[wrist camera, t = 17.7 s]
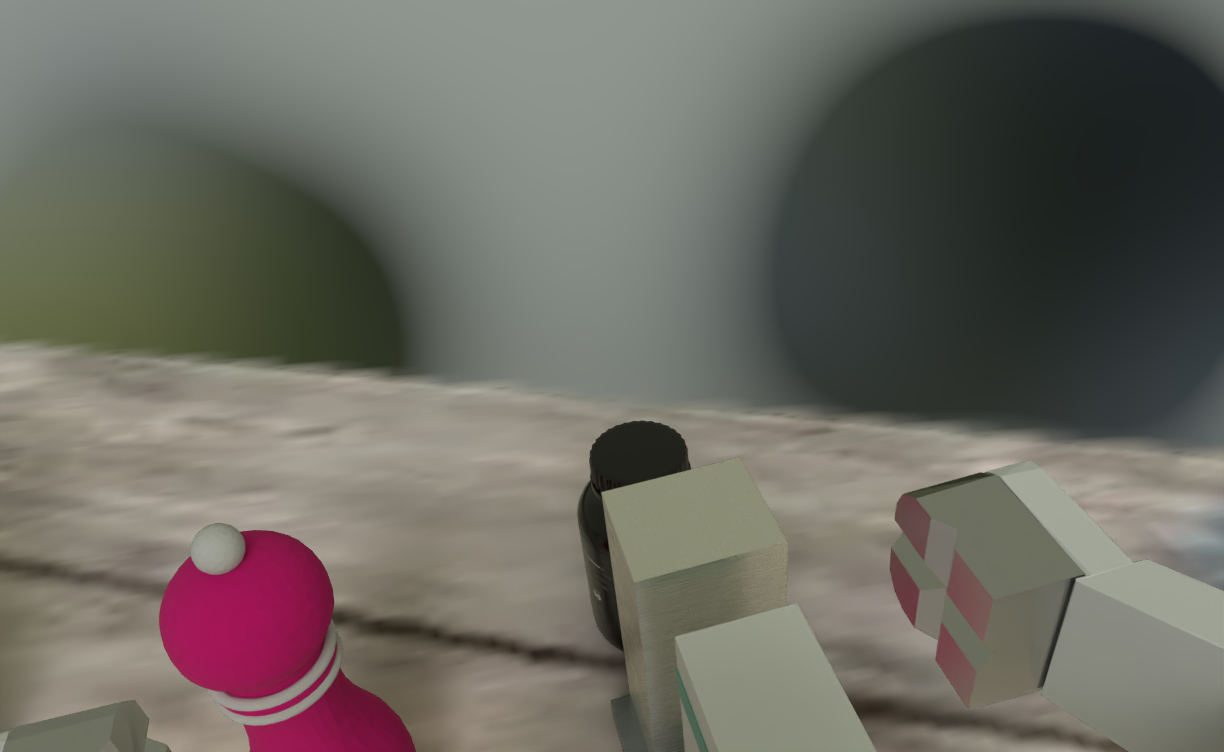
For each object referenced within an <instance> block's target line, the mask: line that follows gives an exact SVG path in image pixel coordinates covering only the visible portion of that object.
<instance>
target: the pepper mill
mask: <svg viewBox="0 0 1224 752" xmlns="http://www.w3.org/2000/svg"><path fill="white" fill-rule="evenodd" d="M190 554H191V556H190V557H189V558H188V559H187V560H186V561H185V562H184V563H183V564H182V565H181V566H180V568H179V569H178V571H177V572H176V574H175V575H174V576H173V578H172V579H171V581H170V582H169V584H168V586H167V589H166V591H165V593H164V596H163V599H162V603H161V608H160V614H159V626H160V632H161V637H162V641H163V645H164V648H165V650H166V652H167V654H168V656H169V658H170V660H171V662H172V663H173V664H174V665H175V666H176V668H177V669H178V670H179V671H180V672H181V674H182V675H183V676H184V677H186V678H187V679H188V680H190V681H191V682H193V683H195V684H196V685H199V686H201V687H204V688H206V689H207V690H208V692H209V694H210V695H211V697H212V698H213V699H214V701H215V704H216V706H217V707H218V709H219V710H220V712H221V713H222V714H223V715H224V716H226V717H227V718H229V719H231V720H232V721H235V722H238V723H241V724H244V727H245V729H246V732H247V734H248V737H249V743H250V752H416V751H415V747H414V744H413V741H412V738H411V736H410V734H409V732H408V731H407V729H406V727H405V725H404V724H403V722H402V720H401V719H400V717H399V716H398V715H397V714H396V713H395V712H394V711H393V710H392V709H391V708H390V707H389V706H388V705H387V704H386V703H385V702H384V701H383V700H381V699H380V698H379V697H377V696H375V695H373V694H372V693H370V692H368V691H366V690H364V689H362V688H360V687H358V686H356V685H354V684H353V683H352V682H351V681H350V680H349V679H347V678H346V677H345V675H344V674H343V672H342V670H341V669H340V666H341V663H342V655H343V647H342V642H341V638H340V636H339V634H338V632H337V631H336V628H335V625H334V622H333V620H332V613H333V607H334V596H333V589H332V585H331V582H330V579H329V576H328V573H327V571H326V569H325V568H324V566H323V564H322V562H321V561H320V560H319V559H318V557H317V556H316V555H315V554H314V553H313V551H312V550H310V549H309V548H308V547H307V546H305V545H304V544H303V543H301V542H300V541H299V540H297V539H295V538H293V537H291V536H288V535H285V534H281V533H278V532H274V531H263V530H252V531H243V532H240V531H238V530H237V529H236V528H234V527H233V526H231V525H228V524H222V523H216V524H212V525H208V526H206V527H204V528H203V529H202V530H201V531H199V532H198V533H197V534H196V535H195V537H194V539H193V541H192V543H191V552H190Z"/></svg>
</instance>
